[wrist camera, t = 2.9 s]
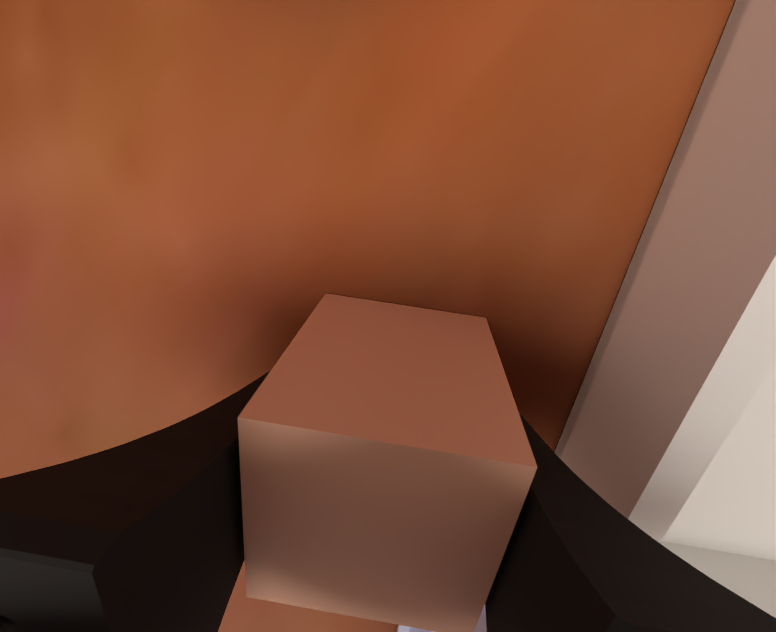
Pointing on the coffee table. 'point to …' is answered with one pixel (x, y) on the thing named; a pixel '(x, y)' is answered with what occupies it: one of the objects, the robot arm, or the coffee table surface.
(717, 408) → the tray
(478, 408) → the brown cube block
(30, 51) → the coffee table surface
